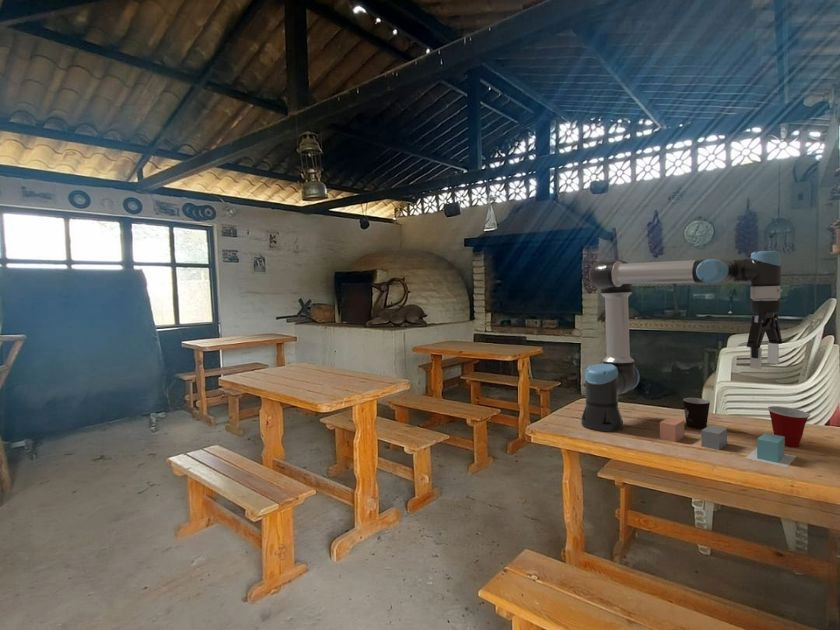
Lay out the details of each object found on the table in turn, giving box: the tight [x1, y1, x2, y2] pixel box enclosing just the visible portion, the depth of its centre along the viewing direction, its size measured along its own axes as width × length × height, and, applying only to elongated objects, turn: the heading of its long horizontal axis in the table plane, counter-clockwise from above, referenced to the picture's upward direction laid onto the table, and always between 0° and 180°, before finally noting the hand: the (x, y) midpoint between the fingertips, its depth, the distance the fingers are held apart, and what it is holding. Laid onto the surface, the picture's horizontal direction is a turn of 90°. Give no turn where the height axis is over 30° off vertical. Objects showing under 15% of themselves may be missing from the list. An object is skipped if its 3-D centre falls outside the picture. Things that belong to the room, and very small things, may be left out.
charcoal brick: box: [700, 424, 728, 451], centre depth 146 cm, size 5×8×6 cm, turn 130°
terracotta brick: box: [659, 417, 685, 443], centre depth 156 cm, size 5×8×6 cm, turn 129°
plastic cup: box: [767, 405, 811, 448], centre depth 144 cm, size 11×11×12 cm
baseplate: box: [745, 447, 797, 468], centre depth 135 cm, size 10×12×1 cm
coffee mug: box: [682, 397, 711, 430], centre depth 168 cm, size 12×9×10 cm
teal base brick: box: [756, 432, 786, 463], centre depth 134 cm, size 5×8×6 cm, turn 129°
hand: (764, 365), depth 141 cm, fingers open, 13 cm apart
